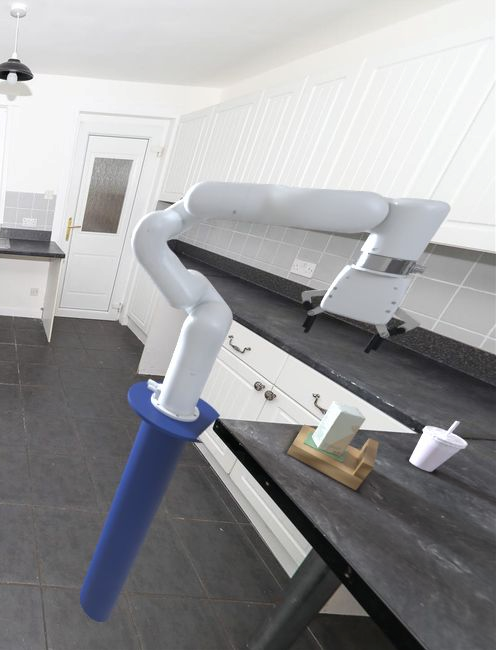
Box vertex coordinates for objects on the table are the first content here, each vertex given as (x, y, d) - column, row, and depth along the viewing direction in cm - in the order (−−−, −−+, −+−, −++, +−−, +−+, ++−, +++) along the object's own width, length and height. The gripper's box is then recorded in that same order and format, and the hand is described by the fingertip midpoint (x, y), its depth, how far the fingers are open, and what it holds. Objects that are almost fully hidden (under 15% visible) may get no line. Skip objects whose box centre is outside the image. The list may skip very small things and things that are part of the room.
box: (340, 457, 77) (367, 419, 72) (316, 448, 78) (341, 411, 74) (333, 443, 81) (358, 407, 76) (310, 435, 83) (333, 399, 78)
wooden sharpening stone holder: (286, 453, 81) (300, 431, 78) (299, 432, 88) (311, 412, 85) (355, 490, 72) (373, 467, 69) (362, 464, 80) (378, 442, 77)
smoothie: (399, 461, 82) (435, 416, 76) (402, 451, 85) (436, 408, 80) (440, 480, 77) (481, 434, 72) (441, 469, 81) (481, 424, 75)
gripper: (451, 276, 61) (394, 355, 68) (326, 252, 73) (288, 321, 80) (454, 281, 56) (393, 365, 63) (320, 254, 68) (281, 327, 75)
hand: (335, 340), depth 71 cm, fingers open, 9 cm apart
